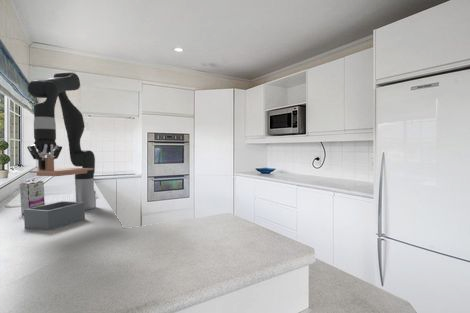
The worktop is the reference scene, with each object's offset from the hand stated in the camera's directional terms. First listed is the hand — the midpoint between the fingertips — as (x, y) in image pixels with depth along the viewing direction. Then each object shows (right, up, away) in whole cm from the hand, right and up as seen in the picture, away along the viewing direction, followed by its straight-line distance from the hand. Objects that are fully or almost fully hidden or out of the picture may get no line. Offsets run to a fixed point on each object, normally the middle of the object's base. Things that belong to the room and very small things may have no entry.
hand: (46, 169), depth 111 cm
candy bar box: (-32, -25, +34) cm, 53 cm away
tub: (-2, -25, +9) cm, 27 cm away
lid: (+2, -3, +7) cm, 8 cm away
